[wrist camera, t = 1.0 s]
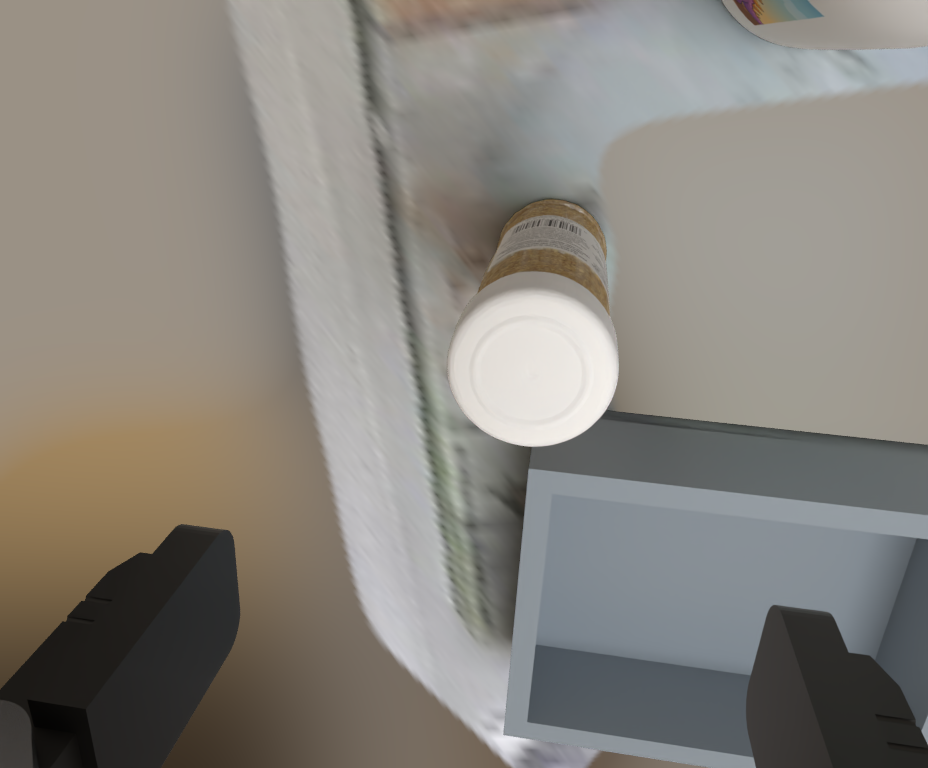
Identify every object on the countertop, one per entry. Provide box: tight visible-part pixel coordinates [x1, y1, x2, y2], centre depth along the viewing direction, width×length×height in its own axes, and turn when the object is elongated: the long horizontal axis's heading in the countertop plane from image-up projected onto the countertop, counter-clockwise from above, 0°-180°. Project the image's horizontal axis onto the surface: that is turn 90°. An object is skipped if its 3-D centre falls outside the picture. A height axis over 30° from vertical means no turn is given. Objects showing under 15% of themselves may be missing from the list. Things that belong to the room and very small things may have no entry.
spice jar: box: [447, 199, 619, 447], centre depth 26 cm, size 5×5×13 cm
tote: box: [503, 411, 928, 768], centre depth 34 cm, size 14×18×6 cm
